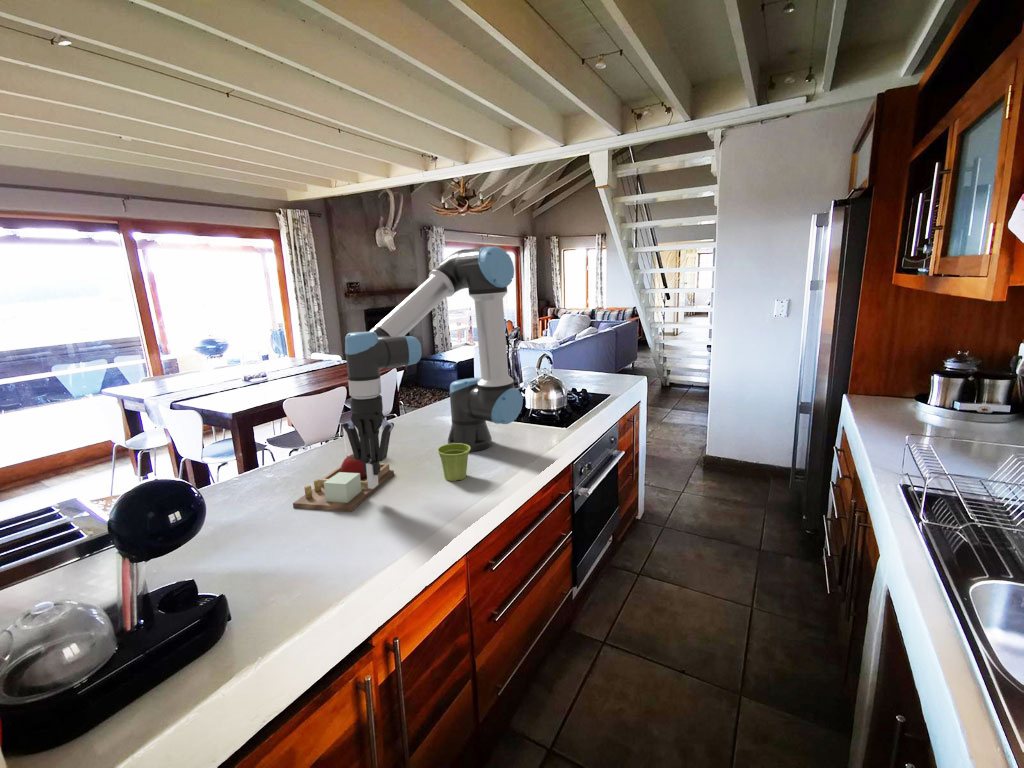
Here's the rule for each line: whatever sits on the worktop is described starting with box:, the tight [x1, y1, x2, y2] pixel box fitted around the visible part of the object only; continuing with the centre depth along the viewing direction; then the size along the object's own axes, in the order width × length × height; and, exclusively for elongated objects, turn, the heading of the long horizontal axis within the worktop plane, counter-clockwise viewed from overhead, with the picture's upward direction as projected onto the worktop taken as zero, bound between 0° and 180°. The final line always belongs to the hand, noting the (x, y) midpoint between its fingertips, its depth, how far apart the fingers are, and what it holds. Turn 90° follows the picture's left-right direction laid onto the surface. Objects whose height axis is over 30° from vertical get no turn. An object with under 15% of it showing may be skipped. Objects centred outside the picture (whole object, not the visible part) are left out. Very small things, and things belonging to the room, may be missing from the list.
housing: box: [324, 472, 362, 503], centre depth 121 cm, size 6×7×5 cm
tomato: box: [340, 454, 367, 479], centre depth 132 cm, size 8×8×7 cm
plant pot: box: [436, 443, 471, 482], centre depth 133 cm, size 9×9×9 cm
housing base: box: [292, 462, 395, 513], centre depth 128 cm, size 16×24×4 cm, turn 169°
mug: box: [342, 426, 371, 457], centre depth 155 cm, size 12×8×10 cm
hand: (373, 486), depth 119 cm, fingers closed
